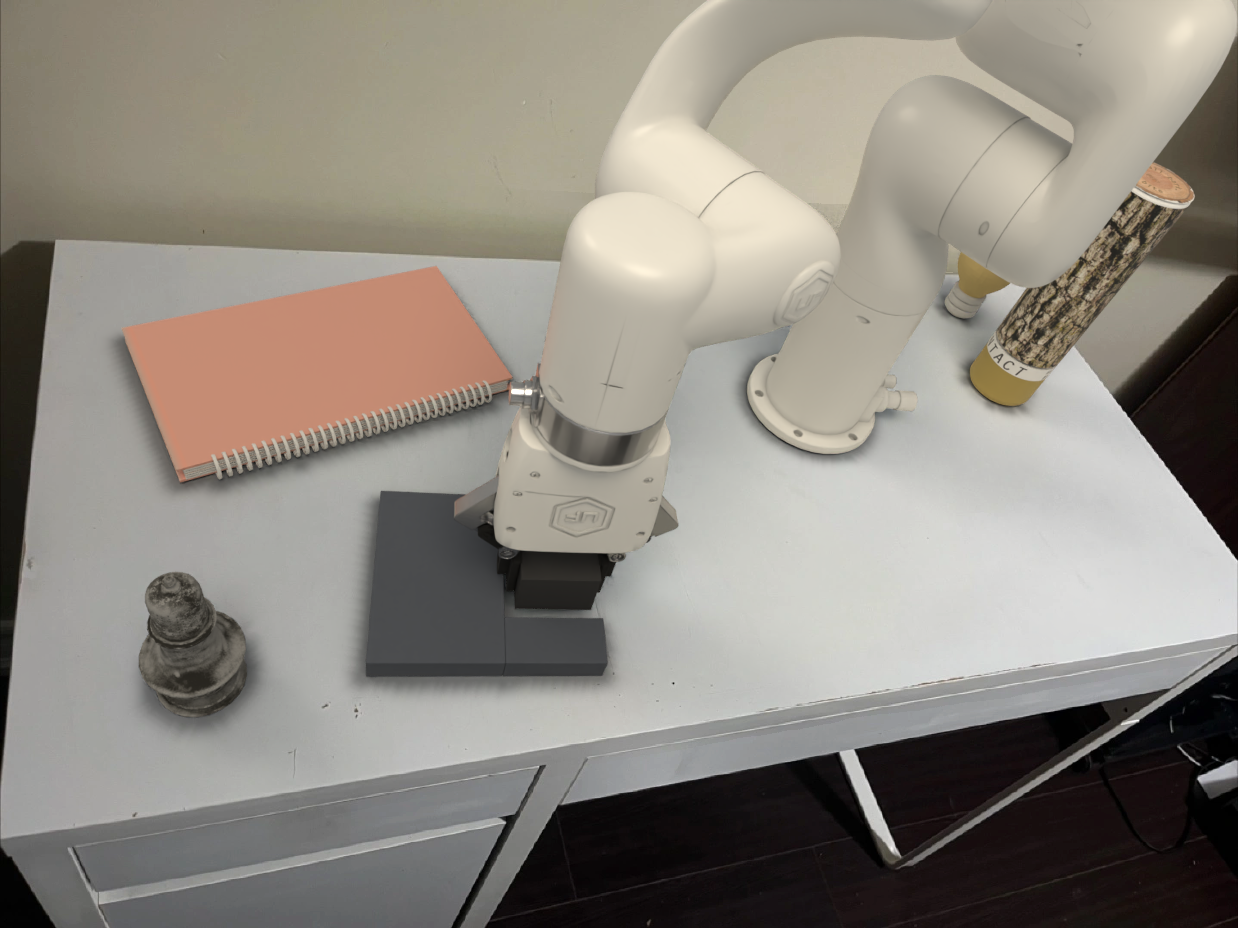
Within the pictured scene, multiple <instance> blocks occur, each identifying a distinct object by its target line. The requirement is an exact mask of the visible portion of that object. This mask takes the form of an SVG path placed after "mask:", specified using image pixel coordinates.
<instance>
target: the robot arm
mask: <svg viewBox="0 0 1238 928" xmlns="http://www.w3.org/2000/svg"><path fill="white" fill-rule="evenodd" d="M1237 29H1238V13H1237V10H1236V7H1235V4H1234V3H1233V1H1232V0H705V1H704V2H703V3H702V4H700V5H699V6H698V7H697V8H695V9H694V10H693V11H692V12H691V13H689V14H688V15H687V16H686V17H685V18H684V19H683V20H682V21H680V22H679V24H678V25H677V26H676V27H675V28H674V29H672V31H671V32H670V34H668V36H667V37H666V38H665V40H664V41H663V42H662V43H661V45H660V46H659V48H658V49H657V51H656V52H655V54H654V55H653V57H652V59H651V60H650V62H649V64H648V65H647V67H646V69H645V71H644V72H643V74H642V76H641V78H640V79H639V81H638V83H637V85H636V87H635V89H634V91H633V92H632V94H631V96H630V98H629V100H627V103H626V105H625V107H624V109H623V110H622V112H621V114H620V116H619V118H618V120H617V122H616V123H615V126H614V127H613V129H612V131H611V133H610V135H609V138H608V140H607V142H606V145H605V148H604V150H603V152H602V155H601V158H600V160H599V163H598V167H597V170H596V174H595V181H594V198H593V199H592V200H591V201H589V202H588V203H587V204H585V205H584V206H583V207H581V208H580V210H578V212H577V213H576V214H575V216H574V217H573V218H572V220H571V222H570V225H569V226H568V228H567V231H566V236H565V239H564V242H563V247H562V252H561V256H560V262H559V268H558V273H557V278H556V283H555V288H554V294H553V298H552V303H551V308H550V313H549V318H548V324H547V328H546V334H545V338H544V339H545V340H544V345H543V349H542V355H541V360H540V362H538V363H537V366H536V370H535V375H532V376H531V378H530V379H524V380H522V381H523V382H522V381H510V382H509V385H510V386H509V390H508V406H514V407H519V408H518V410H517V412H516V414H515V416H514V418H513V420H512V423H511V425H510V427H509V430H508V433H507V435H506V438H505V440H504V443H503V447H502V450H501V452H500V456H499V460H498V464H497V467H496V472H495V477H493V478H492V479H490V480H488V481H486V482H485V483H483V484H481V485H479V486H477V487H476V488H475V489H473V490H471V491H469V492H468V493H466V495H464V496H463V497H461V498H459V499H457V500H456V501H455V502H454V520H455V521H456V522H458V523H460V524H462V525H463V526H465V527H467V528H469V529H470V530H475V531H477V532H478V536H479V537H480V538H481V539H483V540H484V541H486V542H488V543H489V544H491V545H492V546H494V547H495V548H497V549H498V554H497V574H504V576H505V592H514V589H515V587H516V583H517V578H518V574H519V569H520V565H521V563H522V561H523V559H522V550H524V551H542V552H571V553H598V559H599V565H600V571H601V584H600V586H599V589H598V592H597V594H601V591H602V588H603V585H604V584H605V583H604V582H605V581H606V578H607V577H608V578H609V577H612V575H613V572H614V570H615V567H616V564H617V563H621V562H623V561H624V560H626V558H627V554H628V553H633V552H635V551H638V550H640V549H642V548H643V547H644V546H645V545H646V544H647V543H650V541H651V540H652V537H659V536H661V535H664V534H666V533H669V532H672V531H674V530H676V529H678V528H679V519H678V514H677V510H676V508H675V507H674V506H673V505H672V504H671V503H670V502H669V501H668V499H667V498H665V496H663V495H664V491H665V490H664V489H665V484H666V479H667V474H668V469H669V464H670V463H669V462H670V455H671V454H670V453H671V434H670V431H669V428H668V425H667V421H666V418H667V415H668V412H669V409H670V407H671V404H672V401H673V399H674V397H675V393H676V390H677V389H678V386H679V383H680V380H681V376H682V375H683V372H684V369H685V367H686V364H687V361H688V358H689V356H690V354H691V353H692V352H693V351H695V350H696V349H700V348H704V347H708V346H712V345H713V346H714V345H717V344H722V343H728V342H733V341H737V340H738V341H739V340H744V339H748V338H753V337H757V336H761V335H765V334H768V333H771V332H774V331H777V330H779V329H782V328H785V327H789V326H791V328H790V329H789V331H788V333H787V336H786V338H785V340H784V341H783V344H782V345H781V348H780V350H779V352H778V353H774V354H771V355H768V356H766V357H765V358H763V359H761V360H760V361H758V363H757V364H756V365H754V367H753V369H752V371H751V374H750V375H749V378H748V381H747V384H746V385H747V386H746V393H747V394H746V395H747V399H748V402H749V405H750V408H751V409H752V412H753V413H754V414H755V416H756V417H757V419H758V421H760V423H761V424H763V426H764V427H765V429H767V430H769V431H770V432H771V433H772V434H774V436H776V437H777V438H779V439H780V440H782V441H784V442H786V443H787V444H789V445H791V446H794V447H796V448H798V449H800V450H803V451H808V452H811V453H815V454H823V455H839V454H844V453H848V452H851V451H853V450H856V449H857V448H860V447H861V445H863V444H864V443H865V441H867V439H868V438H869V436H870V434H871V433H872V432H873V429H874V427H875V422H876V413H883V412H884V411H886V409H891V410H893V411H901V412H913V411H915V409H916V408H917V405H918V401H919V400H918V395H917V393H916V392H915V391H914V390H913V391H911V390H900V389H898V390H897V389H896V390H890V389H895V388H896V385H897V376H896V375H895V374H889V373H890V371H891V370H892V368H893V366H894V365H895V363H896V362H897V360H898V358H899V357H900V355H901V353H902V352H903V351H904V349H905V347H906V346H907V344H908V343H909V341H910V340H911V337H912V336H913V334H914V333H915V332H916V330H917V328H918V326H919V325H920V323H921V322H922V321H923V319H924V317H925V316H926V314H927V312H928V311H929V309H930V307H931V305H932V304H933V302H934V301H935V299H936V298H937V296H938V294H939V293H940V291H941V289H942V286H943V284H944V281H945V279H946V274H947V270H948V264H949V245H950V246H952V247H953V248H955V249H956V250H958V251H959V252H960V253H961V252H962V253H964V254H965V255H967V256H968V257H970V258H971V259H972V260H974V261H975V262H977V263H978V264H980V265H981V266H983V267H984V268H986V269H988V270H989V271H991V272H992V273H994V274H996V275H997V276H999V277H1001V278H1002V279H1004V280H1006V281H1007V282H1009V283H1010V284H1012V285H1014V286H1017V287H1020V288H1025V289H1026V288H1037V287H1041V286H1044V285H1047V284H1049V283H1051V282H1053V281H1054V280H1056V279H1057V278H1059V277H1060V276H1061V275H1063V274H1064V273H1065V272H1066V271H1067V270H1068V269H1069V268H1070V267H1071V266H1072V265H1073V264H1074V263H1075V262H1076V261H1077V260H1078V259H1079V258H1080V256H1081V255H1082V254H1083V253H1084V252H1085V251H1086V249H1087V248H1088V247H1089V246H1090V244H1091V243H1092V242H1093V241H1094V239H1095V238H1096V237H1097V236H1098V234H1099V233H1100V232H1101V230H1102V229H1103V228H1104V226H1105V225H1106V224H1107V222H1108V221H1109V220H1110V218H1111V217H1112V216H1113V214H1114V213H1115V212H1116V210H1117V209H1118V208H1119V206H1120V205H1121V204H1122V203H1123V201H1124V200H1125V199H1126V197H1127V196H1128V195H1129V193H1130V192H1131V191H1132V189H1133V188H1134V187H1135V185H1136V184H1137V183H1138V181H1139V180H1140V179H1141V177H1142V176H1143V175H1144V173H1145V172H1146V171H1147V169H1148V168H1149V167H1150V166H1151V164H1152V163H1153V162H1154V163H1155V161H1156V159H1157V158H1158V156H1159V155H1160V154H1161V153H1162V151H1163V150H1164V148H1166V146H1167V145H1168V143H1169V142H1170V140H1171V139H1172V138H1173V136H1175V134H1176V133H1177V132H1178V130H1179V129H1180V127H1182V125H1183V124H1184V122H1185V121H1186V120H1187V118H1188V117H1189V115H1190V114H1191V113H1192V111H1194V108H1195V107H1196V106H1197V105H1198V103H1199V102H1200V100H1201V99H1202V97H1203V96H1204V94H1205V93H1206V92H1207V90H1208V88H1209V87H1210V86H1211V85H1212V83H1213V82H1214V80H1215V78H1216V76H1218V73H1219V72H1220V70H1221V68H1222V67H1223V65H1224V62H1225V61H1226V59H1227V57H1228V55H1229V53H1230V51H1231V48H1232V45H1233V43H1234V40H1235V37H1236V34H1237ZM859 37H861V38H862V37H864V38H887V39H897V40H907V41H908V40H909V41H928V42H929V41H931V42H934V41H944V40H951V39H953V38H955V41H956V45H957V47H958V48H959V50H960V52H961V53H962V54H963V55H964V56H965V57H966V58H967V60H968V61H970V62H971V63H973V64H974V65H975V66H976V67H977V68H979V69H980V70H982V71H983V72H985V73H986V74H988V75H989V76H991V77H993V78H994V79H995V80H998V81H999V82H1001V83H1002V84H1004V85H1006V86H1007V87H1009V88H1011V89H1012V90H1014V91H1016V92H1017V93H1019V94H1021V95H1022V96H1024V97H1026V98H1028V99H1030V100H1031V101H1032V102H1035V103H1036V104H1038V105H1039V106H1041V107H1043V108H1045V109H1047V110H1048V111H1050V112H1051V113H1053V114H1055V115H1057V116H1059V117H1060V118H1062V119H1064V120H1066V121H1067V122H1068V123H1069V124H1070V125H1071V127H1072V129H1073V140H1072V142H1071V141H1069V140H1067V139H1066V138H1064V137H1062V136H1061V135H1058V134H1057V133H1055V132H1054V131H1052V130H1050V129H1048V128H1047V127H1045V126H1043V124H1040V123H1038V122H1037V121H1035V120H1033V119H1032V118H1031V117H1030V116H1029V115H1027V114H1025V113H1023V112H1022V111H1020V110H1018V109H1017V108H1015V107H1013V106H1011V105H1010V104H1008V103H1006V102H1005V101H1004V100H1001V99H1000V98H998V97H996V96H995V95H993V94H991V93H989V92H987V91H986V90H984V89H982V88H980V87H979V86H977V85H974V84H972V83H970V82H968V81H965V80H962V79H958V78H957V77H953V76H949V75H940V74H939V75H938V74H930V75H925V76H924V75H923V76H921V77H918V78H915V79H911V81H909V82H907V83H905V84H903V85H902V86H901V87H900V88H898V89H897V90H896V91H895V92H894V93H893V94H892V95H891V96H890V97H889V99H888V100H887V101H886V102H885V103H884V105H883V107H881V110H880V111H879V113H878V115H877V117H876V119H875V121H874V123H873V126H872V127H871V130H870V132H869V135H868V138H867V142H866V145H865V148H864V152H863V155H862V159H861V164H860V167H859V170H858V171H859V172H858V176H857V179H856V182H855V185H854V189H853V192H852V195H851V198H850V200H849V203H848V206H847V208H846V211H845V213H844V215H843V218H842V220H841V222H840V224H839V227H838V229H837V232H836V231H835V230H834V227H833V226H832V225H831V224H830V223H829V221H828V220H827V219H826V218H825V217H824V216H823V215H822V214H821V213H820V212H819V211H818V210H817V209H815V208H814V207H813V206H811V205H810V204H809V203H807V202H806V201H805V200H803V199H802V198H800V197H799V196H797V195H796V194H794V192H793V191H791V190H789V189H787V188H786V187H785V186H783V185H782V184H780V183H779V182H778V181H776V180H775V179H773V178H772V177H770V175H768V174H766V172H765V171H764V170H762V169H761V168H759V167H758V166H757V165H755V164H754V163H752V162H751V161H749V160H748V159H746V158H745V157H744V156H742V155H741V154H739V153H738V152H736V151H735V150H734V149H733V148H730V146H728V145H727V144H725V143H724V142H722V141H721V140H720V139H718V138H717V137H715V136H714V135H712V134H711V133H710V132H708V131H707V129H708V128H709V126H710V124H711V122H712V121H713V119H714V118H715V116H716V114H717V113H718V111H719V110H720V108H721V106H722V105H723V104H724V102H725V100H726V99H727V97H729V95H730V93H732V91H733V89H735V87H736V86H737V85H738V84H739V83H740V82H741V81H742V80H743V79H744V78H745V77H746V76H747V75H748V74H749V73H750V72H751V71H752V70H754V69H755V68H756V67H758V66H759V65H760V64H762V63H763V62H765V61H767V60H768V59H770V58H772V57H774V56H776V55H777V54H779V53H782V52H784V51H787V50H789V49H792V48H794V47H797V46H800V45H804V44H807V43H812V42H815V41H821V40H829V39H830V40H831V39H837V38H859ZM493 509H494V511H493Z"/></svg>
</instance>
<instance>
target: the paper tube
mask: <svg viewBox="0 0 1238 928" xmlns="http://www.w3.org/2000/svg"><path fill="white" fill-rule="evenodd" d="M1195 197H1196V196H1195V193H1194V190H1193V188H1192V187H1191V186H1190V185H1189V184H1188V183H1187V181H1186V180H1184V179H1183V178H1182V177H1181V176H1179V175H1178V174H1177V173H1175V172H1174V171H1172V170H1171V169H1169V168H1166V167H1165V166H1163V165H1161V164H1158V163H1156V162H1155V161H1154V162H1153V163H1152V164H1151V166H1150V167H1149V168H1148V169H1147V171H1146V172H1145V173H1144V175H1143V176H1142V177H1141V179H1140V180H1139V181H1138V183H1137V184H1136V185H1135V187H1134V188H1133V189H1132V191H1131V192H1130V193H1129V195H1128V196H1127V197H1126V199H1125V200H1124V201H1123V203H1122V204H1121V205H1120V206H1119V208H1118V209H1117V210H1116V212H1115V213H1114V214H1113V216H1112V217H1111V218H1110V220H1109V221H1108V222H1107V224H1106V225H1105V226H1104V228H1103V229H1102V230H1101V232H1100V233H1099V234H1098V236H1097V237H1096V238H1095V239H1094V241H1093V242H1092V243H1091V244H1090V246H1089V247H1088V248H1087V249H1086V251H1085V252H1084V253H1083V254H1082V255H1081V256H1080V258H1079V259H1078V260H1077V261H1076V262H1075V263H1074V264H1073V265H1072V266H1071V267H1070V268H1069V269H1068V270H1067V271H1066V272H1065V273H1064V274H1063V275H1061V276H1060V277H1059V278H1057V279H1056V280H1054V281H1053V282H1051V283H1049V284H1047V285H1044V286H1041V287H1037V288H1025V289H1024V291H1023V292H1022V293H1021V295H1020V296H1019V298H1018V299H1017V300H1016V302H1015V303H1014V305H1013V306H1012V308H1011V309H1010V310H1009V312H1008V313H1007V314H1006V316H1005V317H1004V319H1003V320H1002V322H1001V323H1000V324H999V325H998V327H997V329H996V330H995V331H994V332H993V334H992V335H991V336H990V338H989V340H988V341H987V342H986V344H985V345H984V347H983V348H982V349H981V351H980V352H979V353H978V355H977V356H976V358H975V359H974V361H972V363H971V366H969V367H970V368H969V377H970V381H971V383H972V385H973V386H974V387H975V389H976V390H977V392H979V393H980V394H981V395H983V396H984V397H985V398H986V399H988V400H990V401H992V402H993V403H996V404H999V405H1003V406H1006V407H1017V406H1020V405H1023V404H1026V403H1027V402H1028V401H1029V400H1030V399H1031V397H1032V396H1033V395H1034V394H1035V393H1036V391H1038V389H1039V388H1040V387H1041V385H1042V384H1043V383H1044V382H1045V381H1046V379H1047V378H1048V377H1049V376H1050V375H1051V374H1052V373H1053V372H1054V370H1055V369H1056V367H1058V365H1059V364H1060V363H1061V362H1062V361H1063V359H1064V358H1065V357H1066V356H1067V354H1068V353H1069V352H1070V351H1071V350H1072V348H1073V347H1074V346H1075V345H1076V343H1077V342H1079V340H1080V338H1081V337H1082V336H1083V335H1084V334H1085V333H1086V332H1087V330H1089V328H1090V327H1091V325H1092V324H1093V323H1094V322H1095V320H1096V319H1097V318H1098V317H1099V316H1100V314H1102V312H1103V311H1104V310H1105V308H1106V307H1107V306H1108V305H1109V304H1110V302H1111V301H1112V300H1113V299H1114V297H1115V296H1116V295H1117V294H1118V292H1119V291H1120V290H1121V289H1122V288H1123V287H1124V286H1125V284H1126V283H1127V282H1128V281H1129V279H1130V278H1131V277H1132V276H1133V274H1134V273H1135V272H1136V271H1137V270H1138V269H1139V267H1140V266H1141V265H1142V264H1143V263H1144V261H1145V260H1146V259H1147V258H1148V256H1149V255H1150V254H1151V253H1152V252H1153V250H1154V249H1155V248H1156V247H1157V245H1158V244H1159V243H1160V242H1161V241H1162V240H1163V238H1164V237H1165V236H1166V235H1167V233H1168V232H1169V231H1170V230H1171V229H1172V228H1173V226H1174V225H1175V224H1176V222H1178V220H1179V219H1180V217H1181V216H1182V215H1183V214H1184V213H1185V212H1186V211H1187V209H1188V208H1189V207H1190V205H1191V204H1192V202H1193V201H1194V200H1195Z"/></svg>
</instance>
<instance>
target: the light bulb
mask: <svg viewBox="0 0 1238 928" xmlns="http://www.w3.org/2000/svg"><path fill="white" fill-rule="evenodd" d="M957 274H958V280H957V281H955V283H954V284H953V287H952V288H951V289H950V291H949V293H948V294H947V296H946V297H945V299H944V305H945V307H946V310H947V311H948V312H949V313H950V314H951V315H952V316H954V317H956V318H959V319H971V318H973V317H974V316H976V314H977V312H978V310H979V309H981V307H982V306H983V304H984V303H985V301H986V299H987V295H991V294H993V293H997V292H999V291H1001V290H1003V289H1005V288H1006V287H1009V285H1010V284H1011V283H1009V282H1007V281H1006V280H1004V279H1002V278H1001V277H999V276H997V275H996V274H994V273H992V272H991V271H989V270H988V269H986V268H984V267H983V266H981V265H980V264H978V263H977V262H975V261H974V260H972V259H971V258H970V257H968V256H967V255H965V254H964V253H962V252H961V251H960V252H959V254H958V258H957Z"/></svg>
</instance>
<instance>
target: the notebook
mask: <svg viewBox="0 0 1238 928" xmlns="http://www.w3.org/2000/svg"><path fill="white" fill-rule="evenodd" d="M120 328H121V332H122V334H123V337H124V342H125V344H126V347H127V349H128V352H129V354H130V358H131V360H132V362H133V365H134V367H135V370H136V372H137V375H138V378H139V380H140V383H141V386H142V388H143V390H144V393H145V396H146V398H147V401H148V404H149V406H150V409H151V411H152V413H153V416H154V418H155V422H156V424H157V427H158V429H159V432H160V434H161V437H162V440H163V442H164V444H165V447H166V450H167V452H168V455H169V457H170V460H171V463H172V465H173V468H174V471H175V473H176V475H177V478H178V481H179V483H184V482H188V481H191V480H194V479H198V478H201V477H205V476H209V475H212V474H215V475H216V478H217V479H218V480H222V479H223V473H222V471H226V474H227V475H228V477H233V475H234V474H233V473H234V472H233V468H236V470H237V473H238V474H239V475H240V474H243V473H244V468H243V465H245V466H246V469H247V470H248V471H249V472H250V471H253V470H254V466H253V463H254V462H255V464H256V467H257V468H258V469H261V468H263V466H264V465H263V460H265V463H266V464H267V465H268V466H271V465H272V464H273V457H274V460H275V461H276V462H277V463H281V462H282V461H283V460H282V455H283V456H284V458H285V459H286V460H287V461H289V460H291V459H292V453H291V452H293V455H294V456H295V457H296V458H300V457H301V449H302V452H303V453H304V454H305V455H309V454H310V453H311V452H310V447H311V449H312V451H313V452H314V453H317V452H318V451H320V447H321V449H323V450H327V449H328V448H329V444H330V446H331V447H332V448H334V447H336V446H337V445H338V442H339V444H341V445H345V444H346V442H347V440H348V441H349V443H352V442H354V441H355V439H356V438H357V439H358V440H361V439H362V440H363V438H364V435H365V436H366V437H367V438H369V437H371V436H372V435H373V434H375V435H380V433H381V432H384V433H386V432H388V431H389V430H390V429H391V430H392V431H394V430H397V428H398V426H399V427H400V428H404V427H405V426H406V424H407V425H408V426H410V425H411V426H412V425H413V424H414V422H416V423H421V422H422V420H424V421H428V420H430V418H433V419H436V418H437V417H438V415H439V416H441V417H444V416H445V415H446V413H448V414H452V413H453V412H454V411H455V412H460V411H461V410H462V409H464V410H467V409H468V408H469V406H470V407H471V408H474V407H476V406H477V404H478V405H480V406H482V405H483V404H484V403H488V404H489V403H491V401H492V399H493V395H496V394H499V393H502V392H506V391H509V386H510V383H509V381H510V380H513V379H514V378H513V375H512V374H511V373H510V371H509V370H508V368H507V366H506V365H505V364H504V362H503V360H502V359H501V358H500V357H499V355H498V354H497V352H496V350H495V349H494V348H493V347H492V344H491V343H490V341H488V339H487V337H486V336H485V335H484V333H483V332H482V330H481V329H480V327H479V325H478V324H477V323H476V322H475V320H474V318H473V317H472V316H471V314H470V313H469V311H468V309H466V306H465V305H464V304H463V303H462V300H460V298H459V296H458V295H457V294H456V292H455V290H454V289H453V288H452V286H451V285H450V284H449V282H448V280H447V279H446V277H445V276H444V275H443V273H442V272H441V270H440V269H439V267H438V266H437V265H433V266H429V267H427V266H426V267H423V268H418V269H412V270H407V271H402V272H397V273H393V274H386V275H382V276H377V277H372V278H366V279H361V280H356V281H352V282H347V283H340V284H336V285H331V286H326V287H321V288H316V289H311V290H305V291H301V292H296V293H291V294H286V295H280V296H275V297H269V298H264V299H259V300H254V301H250V302H244V303H239V304H234V305H229V306H224V307H218V308H214V309H208V310H203V311H198V312H194V313H188V314H183V315H178V316H173V317H168V318H162V319H158V320H152V321H148V322H143V323H137V324H132V325H127V326H123V327H122V326H121V327H120ZM487 397H488V399H487ZM479 399H480V400H479ZM472 401H473V403H472ZM464 403H465V405H464ZM456 405H458V407H457V406H456ZM449 408H450V409H449ZM441 410H442V411H441ZM425 414H426V415H425ZM417 416H418V417H417ZM409 419H410V420H409ZM401 421H402V422H401ZM355 436H356V438H355ZM346 438H347V439H346ZM337 440H338V441H337ZM328 443H329V444H328ZM319 444H320V447H319Z"/></svg>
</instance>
